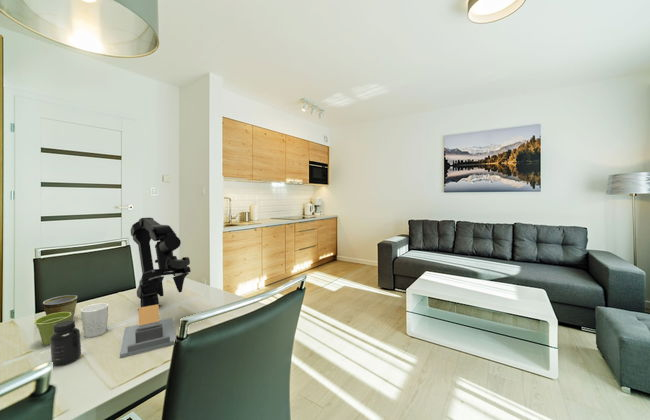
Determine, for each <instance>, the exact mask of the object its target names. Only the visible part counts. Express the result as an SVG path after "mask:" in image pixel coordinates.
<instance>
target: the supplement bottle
mask: <svg viewBox="0 0 650 420" xmlns="http://www.w3.org/2000/svg"><path fill="white" fill-rule="evenodd" d="M80 331H81V330H80V329H79V328H77V327H76V322H75V320H74V319H73V320H68V321H63V322H60V323H57V324H56V325H54V334H53V335H52V336H51V338H50V344H49V345H50V357H51V358H50V359H51V363H52V362H53V364H52V365H53V366H54V367H60V366H66V365H69V364H72V363H73V362H76V361H77V360H78V359H79V358H80V357H81V356H82V346H81V332H80Z"/></svg>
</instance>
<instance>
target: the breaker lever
mask: <svg viewBox="0 0 650 420" xmlns="http://www.w3.org/2000/svg"><path fill="white" fill-rule="evenodd" d="M159 305H160V304H157V305H152V306H146V307H141V306H140V307H138V309H139V310H138V325H139V326H138V327H137V330H141V329H146V328H151V327H155V326H160V325H161V322H159V320H160V314H159V313H160V311H159V310H160V308H159V307H160V306H159ZM155 322H157V323H155ZM150 323H153V324H150ZM145 324H148V325H145ZM141 325H143V326H141Z"/></svg>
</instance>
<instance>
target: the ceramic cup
mask: <svg viewBox="0 0 650 420" xmlns="http://www.w3.org/2000/svg"><path fill="white" fill-rule="evenodd" d="M77 302H78V295H74V294H68V295H67V294H66V295H59V296H56V297H55V296H54V297H51V298H49V299H46V300H44V301H43V302H42V306H43V311H44V313H45V316H46V315H49V314H53V313H59V312H70V313H71V316H70V319H69V320H74V317H75V313H76V306H77Z"/></svg>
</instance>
